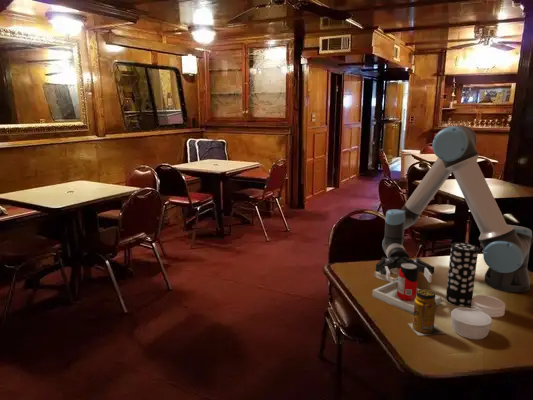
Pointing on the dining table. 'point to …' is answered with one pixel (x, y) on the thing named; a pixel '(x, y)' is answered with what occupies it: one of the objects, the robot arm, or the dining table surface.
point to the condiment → (425, 314)
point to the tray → (390, 296)
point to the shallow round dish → (488, 305)
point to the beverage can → (407, 281)
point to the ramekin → (471, 323)
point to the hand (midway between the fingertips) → (409, 277)
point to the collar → (383, 277)
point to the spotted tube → (461, 274)
